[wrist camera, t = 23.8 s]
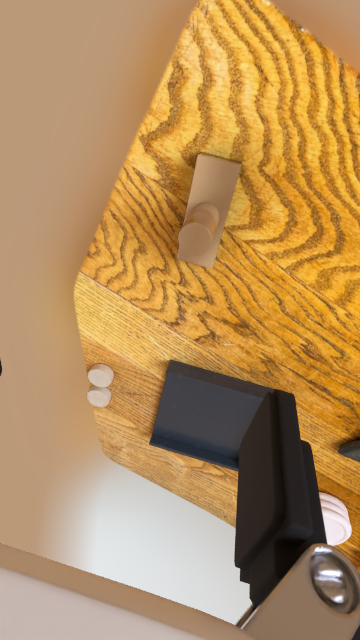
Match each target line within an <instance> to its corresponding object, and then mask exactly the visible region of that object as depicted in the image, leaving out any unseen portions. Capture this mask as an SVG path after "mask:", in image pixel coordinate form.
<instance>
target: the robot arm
mask: <svg viewBox="0 0 360 640" xmlns="http://www.w3.org/2000/svg"><path fill="white" fill-rule="evenodd" d="M1 373H2V366H1V361H0V375H1ZM234 561H235V566H236V567H238V568H240V581H242V582H245V583H248V584H250V599H251V601H252V604H251V605H250V607H249V608H248V609H247V610H246V612H245V613H244V614H243V615H242V616H241V617H240V619H239V620H238V621H237V622H236V623H235V625H233V624H231V623H229V622H226V621H224V620H222V619H219V618H217V617H214V616H212V615H210V614H207V613H205V612H202V611H200V610H197V609H194V608H191V607H188V606H186V605H183V604H180V603H177V602H174V601H171V600H168V599H166V598H163V597H160V596H157V595H154V594H152V593H149V592H146V591H143V590H140V589H137V588H134V587H131V586H128V585H125V584H122V583H119V582H116V581H113V580H110V579H107V578H104V577H101V576H98V575H95V574H92V573H89V572H86V571H83V570H80V569H77V568H74V567H71V566H68V565H65V564H62V563H58V562H55V561H53V560H50V559H47V558H43V557H40V556H37V555H34V554H31V553H28V552H25V551H22V550H19V549H16V548H13V547H10V546H7V545H3V544H1V543H0V640H360V574H359V572H358V570H357V568H356V567H355V566H354V564H353V563H352V562H351V561H350V559H349V558H348V557H347V556H346V555H344V554H343V553H342V552H341V551H340V550H338V549H336V548H335V547H333V546H331V545H328V544H327V538H326V532H325V526H324V520H323V514H322V508H321V502H320V496H319V490H318V484H317V478H316V472H315V466H314V460H313V454H312V449H311V446H310V444H309V443H308V442H306V441H303V440H301V439H300V431H299V424H298V417H297V410H296V402H295V397H294V394H292V393H288V392H285V391H281V390H278V389H275V390H274V391H273V392H267V393H266V395H265V397H264V399H263V401H262V403H261V404H260V406H259V408H258V410H257V412H256V414H255V416H254V418H253V420H252V422H251V424H250V426H249V428H248V430H247V432H246V434H245V436H244V438H243V439H242V442H241V445H240V451H239V471H238V493H237V515H236V537H235V560H234Z"/></svg>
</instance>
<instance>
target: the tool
mask: <svg viewBox="0 0 360 640" xmlns="http://www.w3.org/2000/svg"><path fill="white" fill-rule="evenodd" d="M338 453H339V454H341V455H343V456H345V457H347V458H351V459H353V460H356V461H358V462H360V440H356V441H351V442H347V443H346V444H343V445H341V446H340V447H339V450H338Z"/></svg>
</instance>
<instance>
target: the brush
mask: <svg viewBox="0 0 360 640" xmlns="http://www.w3.org/2000/svg"><path fill="white" fill-rule="evenodd" d="M241 164H242V162H240V161H236V160H232V159H228V158H224V157H220V156H216V155H212V154H208V153H204V152H201V153H199V154H198V155H197V160H196V165H195V170H194V175H193V180H192V185H191V189H190V194H189V199H188V204H187V209H186V214H185V219H184V223H183V227H182V228H181V230H180V232H179V234H178V243H179V248H178V253H177V258H176V259H178V260H181V261H185V262H189V263H193V264H196V265H200V266H204V267H207V268H211V269H212V268H213V264H214V261H215V257H216V253H217V250H218V246H219V243H220V239H221V236H222V232H223V229H224V225H225V221H226V218H227V214H228V211H229V207H230V204H231V200H232V196H233V193H234V189H235V186H236V182H237V179H238V175H239V171H240V168H241Z"/></svg>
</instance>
